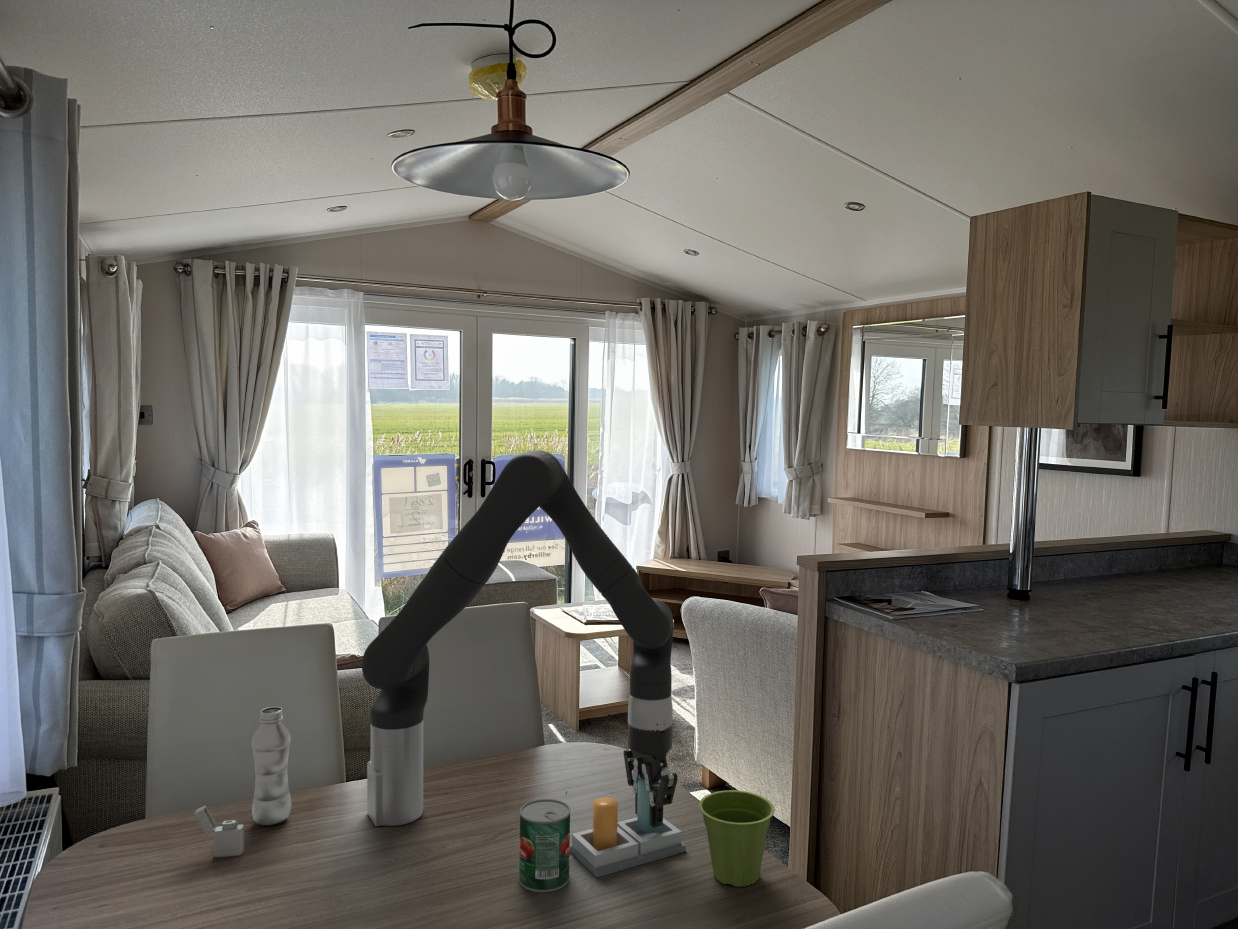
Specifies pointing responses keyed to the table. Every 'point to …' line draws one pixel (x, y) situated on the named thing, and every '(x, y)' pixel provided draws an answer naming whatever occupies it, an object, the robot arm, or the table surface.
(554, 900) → the table surface
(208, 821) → the lighter
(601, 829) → the orange pin
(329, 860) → the table surface
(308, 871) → the table surface
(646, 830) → the teal pin
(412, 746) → the robot arm
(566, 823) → the canned tomato
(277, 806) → the plastic bottle
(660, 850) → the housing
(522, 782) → the table surface
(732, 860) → the plant pot
